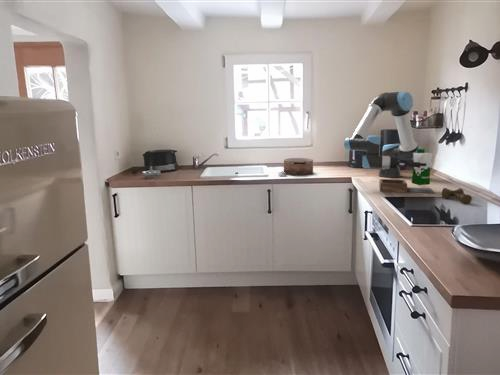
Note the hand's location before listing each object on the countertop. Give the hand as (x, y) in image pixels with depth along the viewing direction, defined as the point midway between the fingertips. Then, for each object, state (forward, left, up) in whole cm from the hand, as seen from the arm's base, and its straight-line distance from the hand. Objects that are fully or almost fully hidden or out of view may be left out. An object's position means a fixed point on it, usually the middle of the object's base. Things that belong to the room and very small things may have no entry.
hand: (430, 163), depth 222 cm
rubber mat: (0, -4, -16) cm, 17 cm away
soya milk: (0, -4, -12) cm, 13 cm away
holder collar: (0, -20, -16) cm, 26 cm away
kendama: (+21, +10, -17) cm, 28 cm away
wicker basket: (-52, -84, -17) cm, 100 cm away
